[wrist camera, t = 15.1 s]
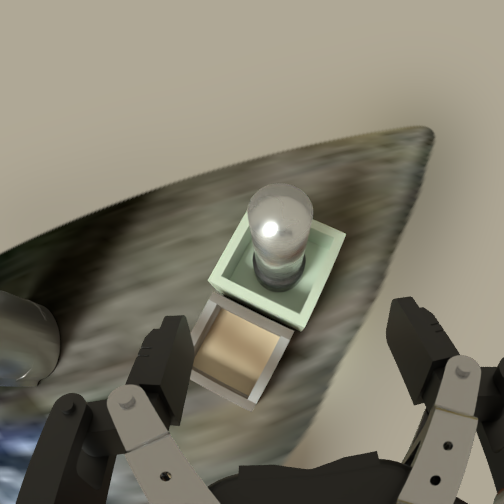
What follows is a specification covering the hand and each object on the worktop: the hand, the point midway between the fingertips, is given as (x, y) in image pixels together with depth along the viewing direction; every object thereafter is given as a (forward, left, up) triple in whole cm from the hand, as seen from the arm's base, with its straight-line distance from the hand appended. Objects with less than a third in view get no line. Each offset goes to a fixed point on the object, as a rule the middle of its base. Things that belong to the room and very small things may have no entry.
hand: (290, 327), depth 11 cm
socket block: (-3, +3, -16) cm, 17 cm away
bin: (+6, +3, -16) cm, 18 cm away
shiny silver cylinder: (+6, +3, -15) cm, 17 cm away
